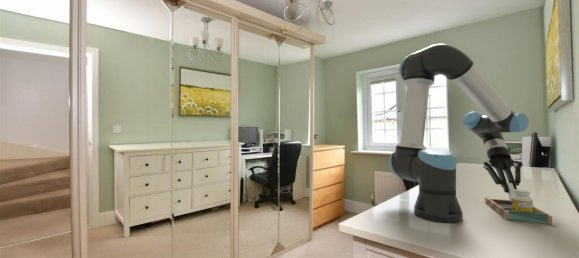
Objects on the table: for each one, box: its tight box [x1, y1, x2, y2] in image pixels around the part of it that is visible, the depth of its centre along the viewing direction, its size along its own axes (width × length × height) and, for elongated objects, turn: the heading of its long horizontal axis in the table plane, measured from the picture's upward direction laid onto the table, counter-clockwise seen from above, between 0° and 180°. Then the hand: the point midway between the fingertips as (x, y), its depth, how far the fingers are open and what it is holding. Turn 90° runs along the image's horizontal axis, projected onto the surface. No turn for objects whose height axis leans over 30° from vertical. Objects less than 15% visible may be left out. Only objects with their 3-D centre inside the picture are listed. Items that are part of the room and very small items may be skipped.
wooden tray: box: [484, 196, 553, 225], centre depth 96 cm, size 22×12×3 cm, turn 158°
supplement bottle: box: [512, 188, 534, 212], centre depth 89 cm, size 5×5×10 cm
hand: (514, 199), depth 96 cm, fingers closed
